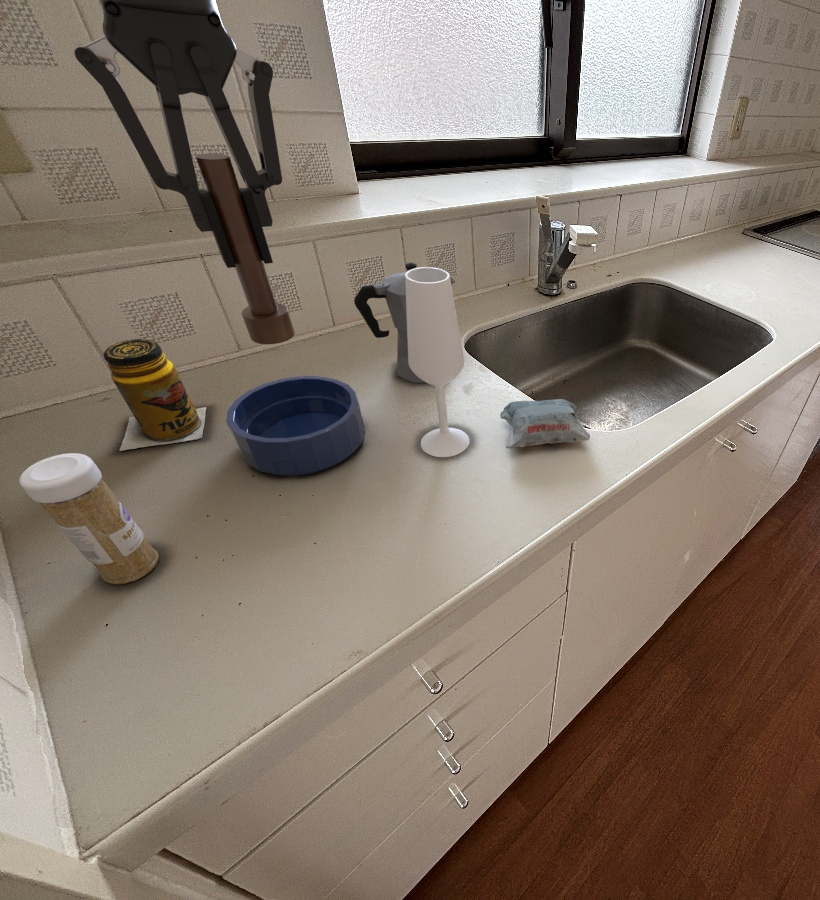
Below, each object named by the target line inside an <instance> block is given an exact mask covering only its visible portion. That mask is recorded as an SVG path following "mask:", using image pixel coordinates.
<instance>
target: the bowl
mask: <svg viewBox="0 0 820 900" xmlns="http://www.w3.org/2000/svg"><path fill="white" fill-rule="evenodd" d="M225 422H226V425H227V427H228V429H229V432H230V433H231V435H232V438H233V440H234V443H235V445H236V447H237V449H238V451H239V453H240V456H241V457H242V458H243V460H244V461H245V463H246V464H247V465H249V466H250V467H252V468H253V469H255V470H257V471H259V472H262V473H267V474H272V475H277V476H286V477H287V476H289V477H290V476H291V477H293V476H303V475H309V474H315V473H318V472H323V471H325V470H327V469H331V468H332V467H335V466H337V465H338V464H340V463H342V462H343V461H345V460H346V459H348V458H349V457H350V456H351V455H352V454H353V453H355V451H356V450H357V449H358V448H359V447H360V446H361V444H362V443H363V441H364V437H365V435H366V429H365V424H364V420H363V416H362V411H361V406H360V403H359V398H358V394H357V392H356V391H355V390H354V389H353V388H352V387H351V385H349V384H348V383H345V382H344V381H341V380H340V379H338V378H337V379H336V378H331V377H326V376H320V375H299V376H291V377H284V378H280V379H276V380H273V381H268V382H265V383H263V384H260V385H258V386H256V387H254V388H251V389H249V390H248V391H246V392H244V393H243V394H242V395H240V396H239V397H238V398H236V399H235V400H234V401H233V402H232V404H231V405H230V406H229V408H228V409H227V411H226V421H225Z"/></svg>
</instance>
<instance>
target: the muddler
mask: <svg viewBox="0 0 820 900" xmlns="http://www.w3.org/2000/svg"><path fill="white" fill-rule="evenodd" d="M195 160H196V163H197V165H198V168H199V171H200V174H201V177H202V180H203V182H204V184H205V188H206V190H207V191H208V193H209V194H210V196H211V197H212V200H213V203H214V206H215V209H216V211H217V214H218V217H219V220H220V223H221V225H222V228H223V231H224V234H225V237H226V239H227V242H228V245H229V248H230V251H231V253H232V256H233V259H234V262H235V265H236V267H234V268H235V269H234V270H235V272H236V275H237V277H238V281H239V282H240V285H241V288H242V291H243V294H244V297H245V300H246V302H247V305H248V306H246V307H245V308H243V309H242V311H241V313H240V314H241V316H242V319H243V322H244V324H245V328H246V330H247V333H248V336H249V338H250V340H251V341H252V342H253V343H255V344H259V345H277V344H278V345H279V344H281V343H285V342H287V341H290V340H291V339H292V338H294V336H295V335H296V332H295V328H294V325H293V321H292V318H291V315H290V312H289V309H288V307H287V306H286V305H285V304H284V303H283V304H282V303H278V302H277V301H276V298H275V295H274V291H273V288H272V285H271V282H270V278H269V276H268V273H267V270H266V266H265V263H264V262H263V260H262V257H261V254H260V251H259V248H258V244H257V241H256V238H255V235H254V232H253V229H252V226H251V223H250V220H249V216H248V213H247V210H246V207H245V204H244V201H243V198H242V195H241V191H240V188H241V187H240V185H239V182H238V178H237V176H236V173H235V170H234V167H233V163H232V160H231V157H230V156H229V155H227V154H224V153H215V152H213V153H212V152H209V153H208V152H207V153H199V154H196V155H195Z"/></svg>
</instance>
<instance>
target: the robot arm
mask: <svg viewBox="0 0 820 900" xmlns="http://www.w3.org/2000/svg"><path fill="white" fill-rule="evenodd" d="M98 2H99V5H100V7H101V9H102V10H101V11H102V13H103V22H102V31H103V36H100V37H99V38H97V39H95V40H92V41H90V42H89V43H86V44H81V43H80V44H79V43H78V44H76V45H75V46H74V47H73V54H74V56H75V59H76V60H77V61H78V63H80V65H81V66H82V67H83V68H84V69H85V70H86V72H88V73H89V74H90V75H91V76H92V78H93V79H95V81H96V83H98V84H99V85H100V86H101V87H102V90H103V91H104V93H105V95H106V97H107V98H108V100H109V102H110V104H111V106H112V107H113V109H114V111H115V113H116V115H117V117H118V119H119V120H120V122H121V124H122V127H123V128H124V129H125V131H126V133H127V135H128V137H129V139H130V141H131V142H132V144H133V146H134V148H135V150H136V152H137V154H138V155H139V157H140V159H141V161H142V163H143V165H144V166H145V168H146V170H147V172H148V173H149V176H150V177H151V179H152V181H153V183H154V184H155V185H156V187H157V188H159V189H162V190H169V191H173V192H177V193H179V194H181V195H182V196H183V197H184V199H185V201H186V204H187V207H188V209H189V212H190V214H191V216H192V220H193V222H194V224H195V226H196V228H197V229H198V230H199V231H200V232H201V233H204V232H205V233H207V232H212V234H213V237H214V241H215V242H216V245H217V248H218V251H219V253H220V256H221V259H222V261H223V263H224V264H225V266H226V269H232V268H235V267H236V265H235V262H234V259H233V256H232V253H231V251H230V248H229V245H228V242H227V239H226V237H225V234H224V231H223V228H222V225H221V223H220V220H219V217H218V214H217V211H216V209H215V206H214V203H213V200H212V197H211V196H210V194H209V193H208V191H207V189H200V188H199V183H198V178H197V174H196V170H195V165H194V161H193V160H194V159H193V156H192V152H191V151H192V150H191V147H190V142H189V137H188V134H187V133H188V132H187V129H186V124H185V119H184V115H183V111H182V110H183V109H182V104H181V99H180V96H184V95H186V94H191V93H192V94H196V95H200V96H203V97H204V99H205V100H206V102H207V104H208V106H209V108H210V110H211V112H212V115H213V117H214V119H215V121H216V123H217V125H218V128H219V130H220V132H221V135H222V137H223V139H224V142H225V143H226V145H227V148H228V150H229V152H230V154H231V156H232V158H233V162H234V163H235V165H236V167H237V170H238V172H239V174H240V176H241V178H242V181H243V183H244V184H245V187H239V188H240V191H241V195H242V198H243V201H244V204H245V207H246V210H247V213H248V216H249V220H250V223H251V226H252V229H253V232H254V235H255V238H256V241H257V244H258V248H259V251H260V254H261V257H262V260H263V263H264V265H267V264H274V261H273V257H272V254H271V251H270V249H269V243H268V241H267V237H266V235H265V232H264V229H263V228H267V227H268V228H269V227H273V218H272V214H271V211H270V207H269V203H268V200H267V197H266V191H267V190H268V189H269V188H271V187H273V186H280V185H281V184H282V182H283V175H282V169H281V162H280V156H279V149H278V143H277V137H276V129H275V123H274V119H273V111H272V105H271V99H270V98H271V97H270V92H271V87H272V82H273V76H274V69H273V67H272V66H271V64H270V63H268V62H267V61H264V60H262V59H260V58H255V57H253V56H252V55H250V54H248V53H246V52H245V51H243V50H241V49H239V48H238V47H236V44H235V41H234V40H233V38H232V37H231V36H230V34H229V33H228V31H227V29H226V28H225V26H224V24H223V22H222V18H221V16H220V15H221V14H220V12H219V8H218V5H217V1H216V0H98ZM117 53H119V54H120V55H121V56H122V57H123V58H124V59H125V60H126V61H127V62H129V64H130V65H132V66H133V67H134V69H136V70H137V71H138V72H139V73H140V74H142V76H143V77H144V78H146V79H147V81H149V82H150V83H151V84H152V85H153V86H154V88H155V91H156V92H155V93H156V95H157V99H158V103H159V106H160V110H161V115H162V118H163V123H164V127H165V132H166V136H167V139H168V143H169V147H170V152H171V156H172V160H173V163H174V169H175V173H174V172H172V171H171V172H170V171H167V170H166V168H165V167H164V165H163V162H162V161H161V159H160V157H159V155H158V153H157V151H156V149H155V148H154V146H153V144H152V142H151V139H150V138H149V136H148V134H147V133H146V130H145V128H144V126H143V125H142V123H141V120H140V118H139V117H138V115H137V113H136V112H135V109H134V107H133V106H132V103H131V101H130V100H129V97H128V96H127V94H126V92H125V90H124V88H123V86H122V85H121V84H120V82H119V80H118V78H117V77H118V76H119V75H120V73H121V68H120V66H119V64H118V62H117V60H116V54H117ZM234 63H236V64H237V66H238V68H239V74H240V77H241V78H242V79H243V80H244V81H245V82H246V83H247V92H248V93H247V94H248V101H249V105H250V112H251V116H252V123H253V129H254V134H255V135H254V136H255V140H256V146H257V150H258V151H257V152H258V156H259V162H260V168H261V169H258V170H257V168H256V166H255V164H254V161H253V159H252V157H251V155H250V152H249V149H248V147H247V145H246V142H245V141H244V138H243V136H242V134H241V131H240V129H239V126H238V124H237V122H236V119H235V117H234V114H233V112H232V110H231V106H230V104H229V102H228V99H227V97H226V95H225V92H224V90H223V89H224V87H225V85H226V83H227V80H228V77H229V75H230V73H231V70H232V67H233V65H234Z"/></svg>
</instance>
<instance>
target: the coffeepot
mask: <svg viewBox="0 0 820 900" xmlns="http://www.w3.org/2000/svg"><path fill="white" fill-rule="evenodd" d="M405 268H406V271H401V272H398V273H395V274H392V275H389V276H386V277H383V278H382V282H379V283H372V284H369V285H363V286H361V288H360V289H359V290H358V292H357V293H356V295H355V297H354V299H353V301H354V306H355V307H356V309H357V310H358V312H359V313H360V315H361V317H362V318H363V320H364V321H365V324H367V326H368V328H369V329H370V331H371V332H372V334H373V336H374V337H375V338H376V339H381V338H386V337H387V338H388V337H389V336H390V330H389V329H387V330H381V328H380V324H379V321H378V319H376V318H375V316H374V313H373V311H372V308H371V306H370V305H369V304H368V301H369V300H370V299H385V301H386V304H387V307H388V311H389V313H390V317H391V320H392V323H393V326H394V328H395V329H397V343H396V344H397V348H396V350H397V354H396V356H397V357H396V375H397V376H398V377H400V378H401V379H403V380H405V381H407V382H409V383H415V384H428V383H427V382H425V381H423V380H421V379H420V378H419V377H418V376H416V375H415V374H414V372H413V371H412V370H411V368H410V366H409V363H408V338H407V312H406V285H405V274H406V272H407V271H409V270H411V269H415V268H418V266H417V263H415V262H407V263H405ZM450 280H451V286H452V285H453V284H455V283H456V280H454V279H453V278H452V277H450Z"/></svg>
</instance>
